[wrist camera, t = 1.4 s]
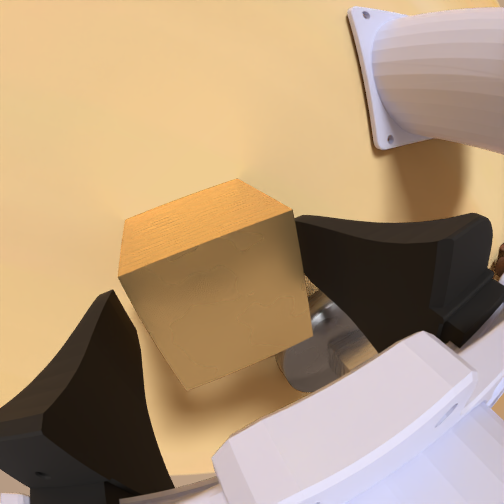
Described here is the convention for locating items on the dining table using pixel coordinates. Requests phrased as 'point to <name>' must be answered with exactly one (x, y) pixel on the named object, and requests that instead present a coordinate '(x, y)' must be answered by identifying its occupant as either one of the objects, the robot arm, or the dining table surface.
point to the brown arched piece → (500, 263)
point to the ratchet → (325, 348)
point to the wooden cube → (216, 280)
